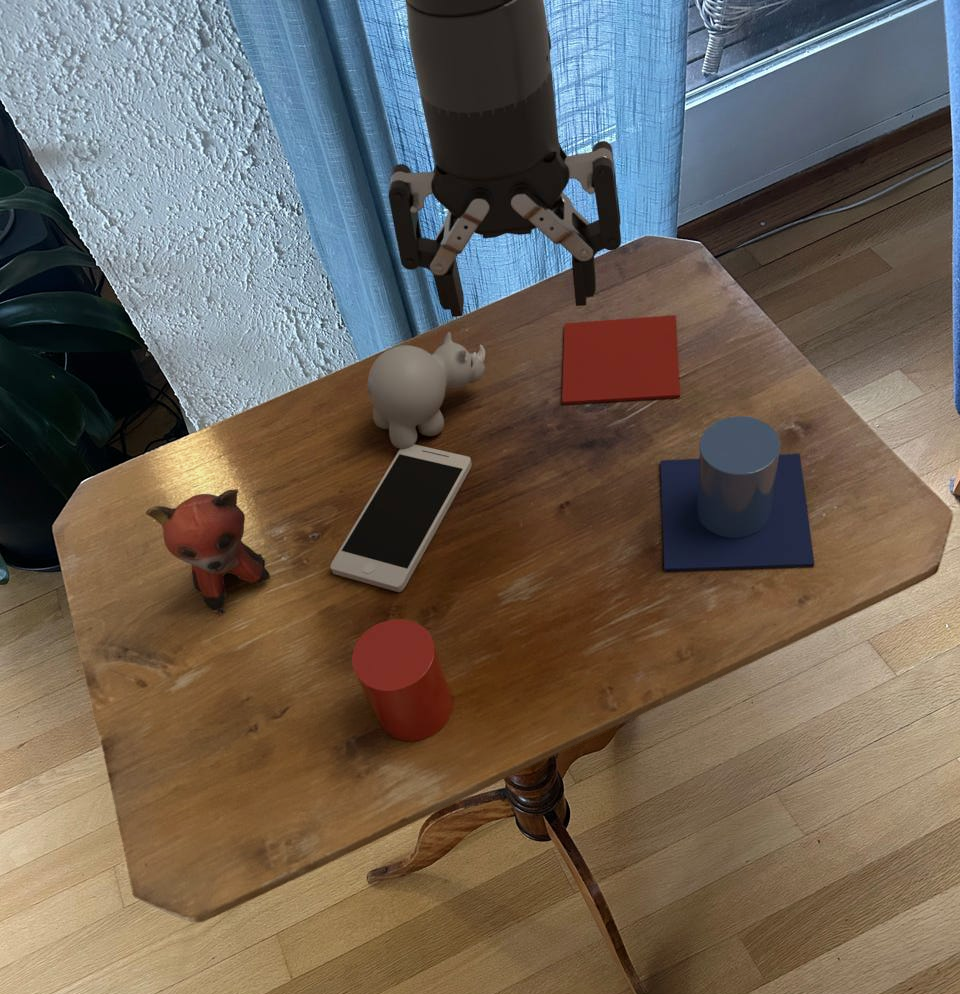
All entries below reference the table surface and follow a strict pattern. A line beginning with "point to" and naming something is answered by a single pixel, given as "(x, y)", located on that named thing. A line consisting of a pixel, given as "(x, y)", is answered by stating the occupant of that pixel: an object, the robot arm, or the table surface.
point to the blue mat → (704, 550)
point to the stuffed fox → (210, 543)
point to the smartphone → (401, 517)
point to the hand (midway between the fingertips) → (519, 303)
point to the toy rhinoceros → (418, 387)
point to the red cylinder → (403, 679)
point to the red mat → (620, 360)
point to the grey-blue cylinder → (737, 476)
